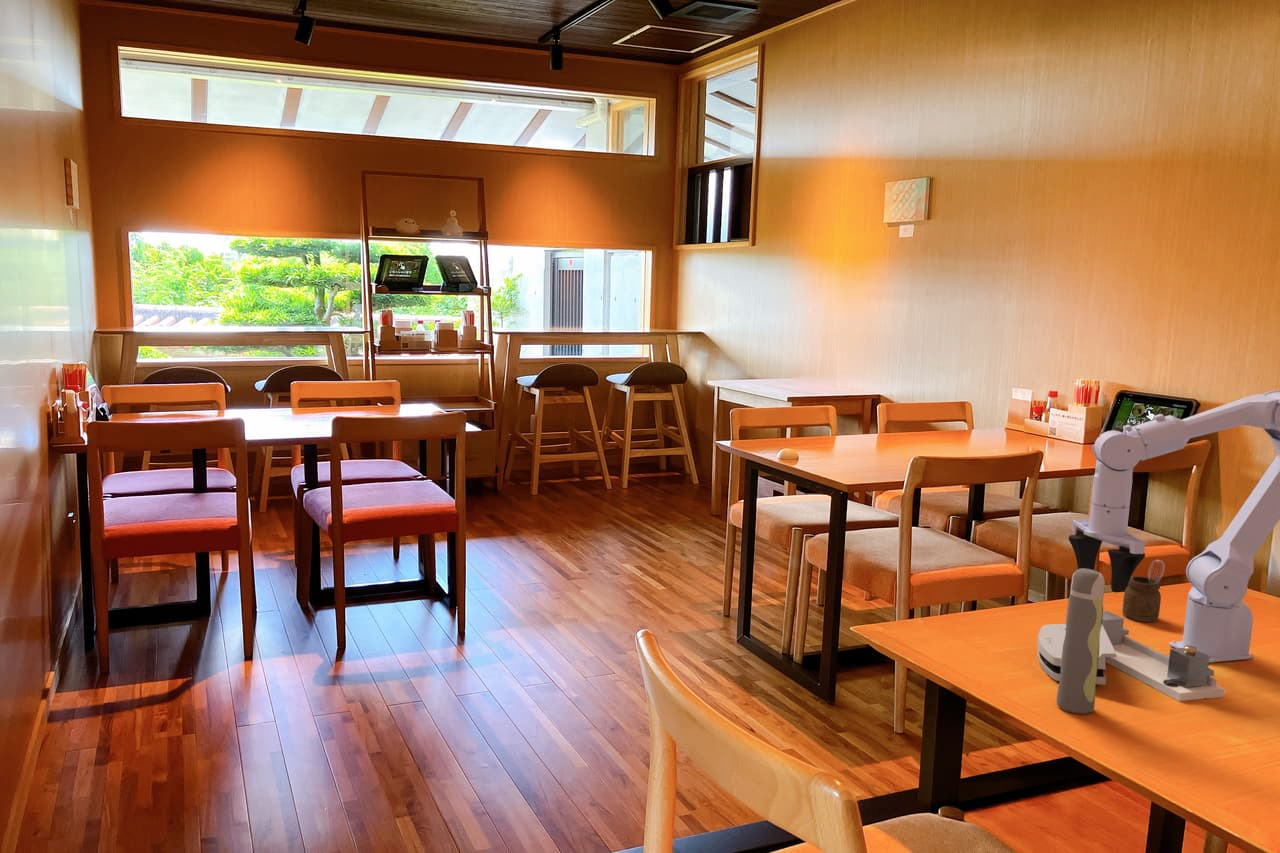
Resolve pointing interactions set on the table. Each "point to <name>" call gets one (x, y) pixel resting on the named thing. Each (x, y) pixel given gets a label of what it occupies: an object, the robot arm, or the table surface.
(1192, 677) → the grey slider block
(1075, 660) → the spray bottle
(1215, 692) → the board
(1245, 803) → the table surface
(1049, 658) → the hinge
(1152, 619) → the utensil holder
